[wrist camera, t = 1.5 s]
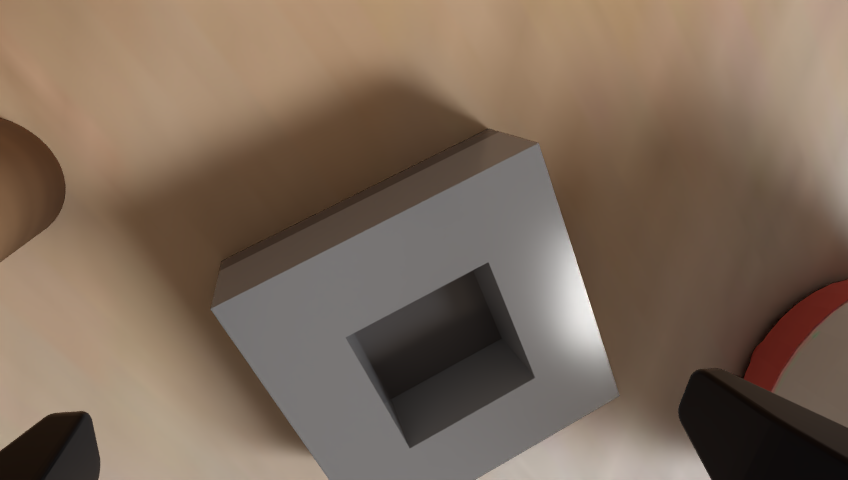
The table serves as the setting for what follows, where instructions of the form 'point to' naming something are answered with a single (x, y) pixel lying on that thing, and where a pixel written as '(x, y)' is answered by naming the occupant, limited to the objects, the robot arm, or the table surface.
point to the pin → (26, 187)
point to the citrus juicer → (808, 354)
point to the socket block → (424, 319)
